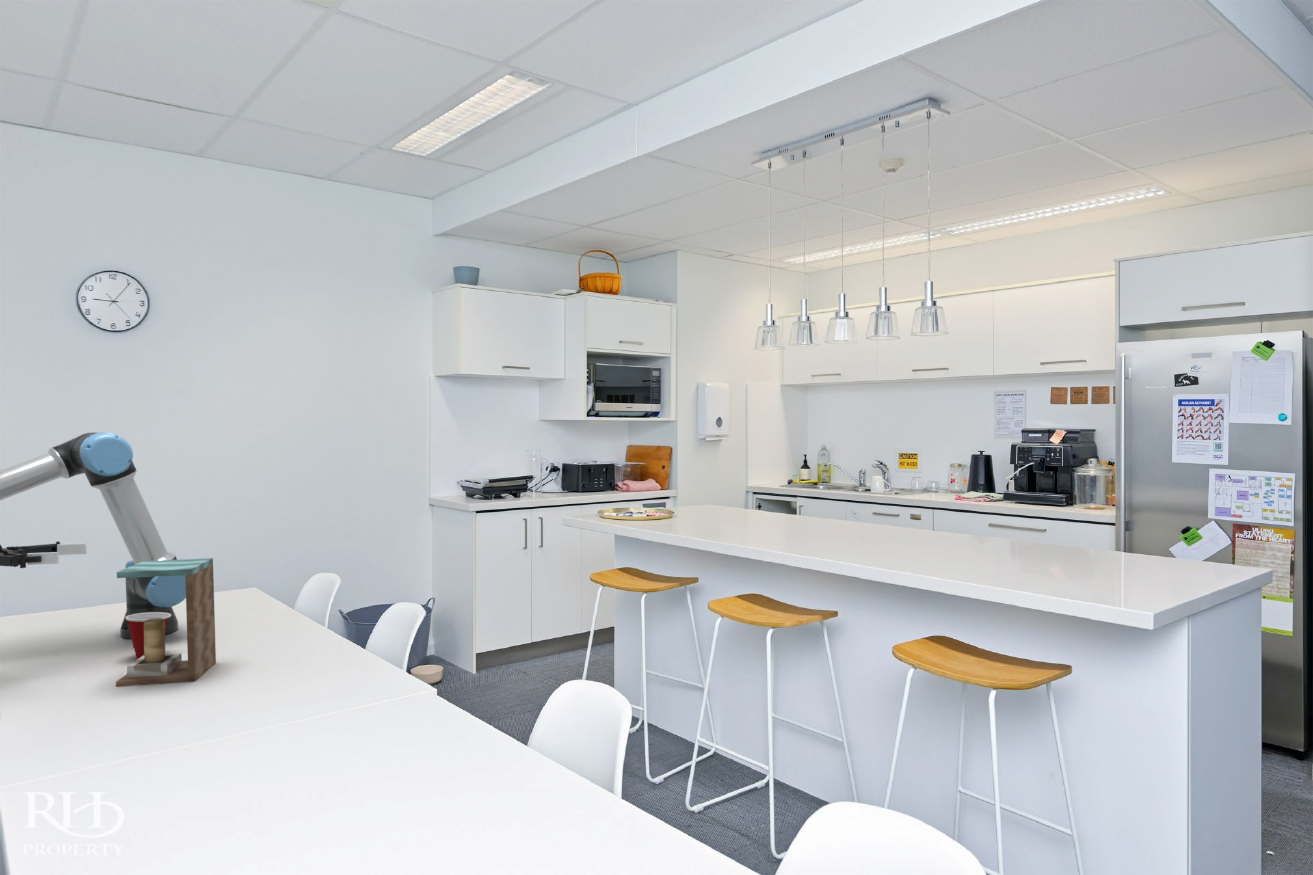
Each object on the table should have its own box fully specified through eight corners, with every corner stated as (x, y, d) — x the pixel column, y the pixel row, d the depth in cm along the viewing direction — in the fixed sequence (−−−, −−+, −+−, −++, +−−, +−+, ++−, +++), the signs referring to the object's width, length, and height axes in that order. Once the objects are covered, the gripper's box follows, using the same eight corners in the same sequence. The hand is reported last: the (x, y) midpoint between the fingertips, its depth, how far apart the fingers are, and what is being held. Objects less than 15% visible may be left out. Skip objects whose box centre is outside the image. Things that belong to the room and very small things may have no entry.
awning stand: (142, 667, 215) (139, 561, 214) (215, 662, 218) (212, 558, 217) (116, 686, 200) (112, 572, 199) (194, 681, 204) (191, 568, 203)
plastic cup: (178, 656, 224) (176, 613, 224) (133, 666, 216) (132, 621, 216) (165, 649, 232) (163, 607, 231) (121, 657, 224) (119, 614, 223)
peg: (149, 667, 210) (148, 618, 210) (168, 666, 211) (167, 617, 211) (141, 673, 206) (140, 623, 205) (161, 672, 207) (160, 622, 206)
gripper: (8, 562, 215) (96, 558, 219) (-56, 581, 191) (45, 577, 195) (7, 534, 215) (95, 531, 219) (-57, 550, 191) (44, 546, 194)
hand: (72, 553), depth 207 cm, fingers open, 13 cm apart
